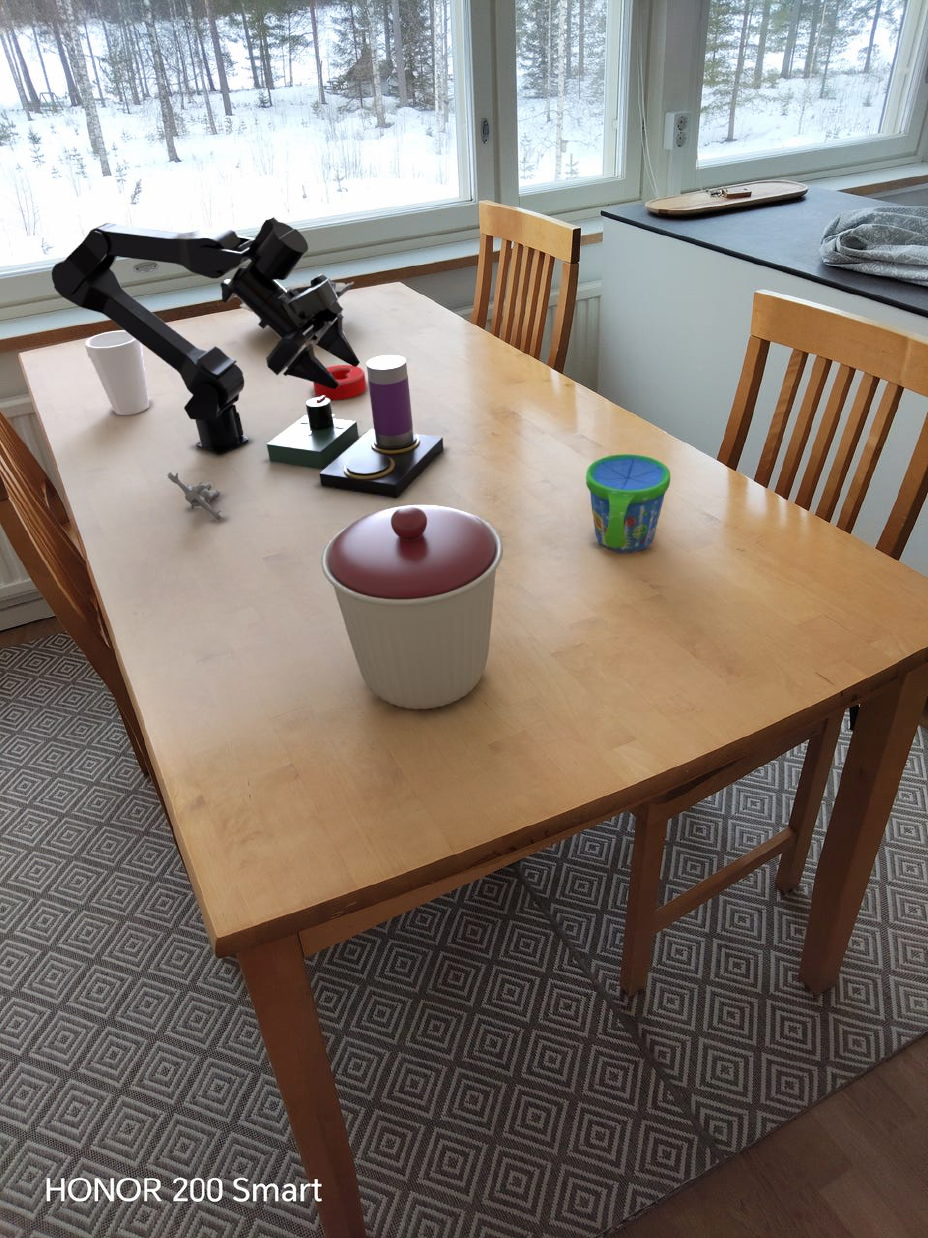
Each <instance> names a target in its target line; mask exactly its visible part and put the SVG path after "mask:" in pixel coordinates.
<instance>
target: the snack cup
mask: <svg viewBox="0 0 928 1238" xmlns="http://www.w3.org/2000/svg"><path fill="white" fill-rule="evenodd" d="M670 483H671V471H670V470H669V468H668V466H667V465H666V464H664V463H663V462H662V461H660V460H658V459H656V458H653V457H650V456H647V455H641V454H632V453H622V454H620V453H619V454H612V455H608V456H605V457H601V458H599V459H597V460H595V461H594V462H592V463H591V464H590V465H589V466H588V468H587V469H586V474H585V485H586V487H587V489H588V490H589V493H590V495H589V496H590V504H591V513H592V518H593V526H594V535H595V537H596V540H597V544H598V546H603V547H604V548H606V549H607V550H609V551H612V552H616V553H618V554H623V553H636V552H639V551H642V550H646V549H648V548H649V547H650V545H651V544H652V542H653V540H654V538H655V533H656V531H657V526H658V523H659V519H660V515H661V512H662V507H663V504H664V500H665V494H666V492H667V491H668V489H669V488H670Z"/></svg>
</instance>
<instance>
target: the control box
mask: <svg viewBox="0 0 928 1238" xmlns="http://www.w3.org/2000/svg"><path fill="white" fill-rule="evenodd" d="M335 415H336V414H335V413H334V414H333V413H332V416H333V422H334V424H333V425H332V426H331V427H329V428H327V429H322V430H316V429H312V428H310V426H309V420H308V414H305V415H303V416H302V417H300V418H299V419H298V420H296V421H294V422H293V424H291V425H290V426H289V427H287V428H286V429H284V430H283V431H282V432H280V433H279V434H278V435H277V436H275V437H274V438H273V439H271V440H270V441H269V442H267V443H266V448H267V453H268V454H267V455H268V458H269V462H275V463H281V464H288V465H293V466H294V465H295V466H301V467H309V468H313V469H314V468H315V469H321V470H324V469H325V468H326V467H327V466H328V465H330V464H331V463H332V462H333V461H334V460H335V459H337V458H338V457H339V456H340V455H341V454H342V453H344V452H345V451H346V450H347V449H348V448H349V447H350V446H352V445H353V444H354V443H355V442H356V441H357V440H359V439H360V436H359V427H358V421H357V420H351V419H350V420H348V419H341V418H335Z"/></svg>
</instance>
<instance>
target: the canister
mask: <svg viewBox="0 0 928 1238" xmlns="http://www.w3.org/2000/svg"><path fill="white" fill-rule="evenodd" d="M503 554H504V544H503V540H502V538H501V535H500V534H499V533H498V531H497V530H496V529H495V528H494V527H493V525H491V524H490V523H489V522H487V521H486V520H484V519H483V518H481V517H479V516H477V515H474V514H472V513H469V512H466V511H464V510H463V511H462V510H459V509H456V508H453V507H449V506H443V505H435V504H407V505H400V506H394V507H388V508H384V509H382V510H381V509H380V510H378V511H375V512H373V513H370V514H367V515H365V516H363V517H360V518H359V519H357V520H355V521H354V522H352V523H350V524H348V525H347V526H345V527H344V528H342V529H340V530H339V531H338V532H337V533H336V534H335V535H333V536H332V538H330V540H329V541H328V543H327V544H326V546H325V547H324V549H323V552H322V554H321V557H320V558H321V561H320V563H321V564H320V565H321V569H322V573H323V575H324V577H325V579H326V580H327V581H328V582H329V583H330V585H331V586H333V590H334V592H335V596H336V600H337V603H338V605H339V608H340V613H341V615H342V619H343V622H344V625H345V630H346V632H347V635H348V639H349V642H350V645H351V647H352V651H353V654H354V657H355V660H356V663H357V666H358V669H359V672H360V674H361V676H362V679H363V680H364V681H365V683H366V686H367V687H368V688H369V690H371V691H372V692H373V694H374V695H375V696H377V697H378V698H380V699H381V700H382V701H384V702H387V703H388V704H390V705H393V706H396V707H398V708H405V709H407V710H408V709H412V710H413V709H414V710H427V709H436V708H439V707H444V706H447V705H451V704H452V703H454V702H457V701H459V700H460V699H461V698H462V697H465V696H467V695H468V693H470V692H471V691H473V690H474V688H475V687H476V685H478V684H479V682H480V680H481V678H482V676H483V675H484V672H485V670H486V665H487V663H488V658H489V649H490V639H491V630H492V620H493V609H494V608H493V607H494V597H495V587H496V586H495V584H496V572H497V569H498V567H499V566H500V563H501V561H502V558H503V556H504V555H503Z"/></svg>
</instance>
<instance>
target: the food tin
mask: <svg viewBox="0 0 928 1238" xmlns="http://www.w3.org/2000/svg"><path fill="white" fill-rule="evenodd" d="M366 371H367V382H368V390H369V399H370V406H371V414H372V421H373V429H374V430H375V437H376V442H377V443H378V444H380V445H382V446H388V447H394V446H401V445H405V444H407V443H409V442H411V441H412V440H413V433H414V428H413V427H414V424H413V414H412V405H411V404H412V403H411V395H410V393H411V392H410V385H409V382H410V381H409V374H408V365H407V360H406V358H405V357H403V356H401V355H394V354H385V355H379V356H376V357H373V358H371V359H369V360H367V362H366Z"/></svg>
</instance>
